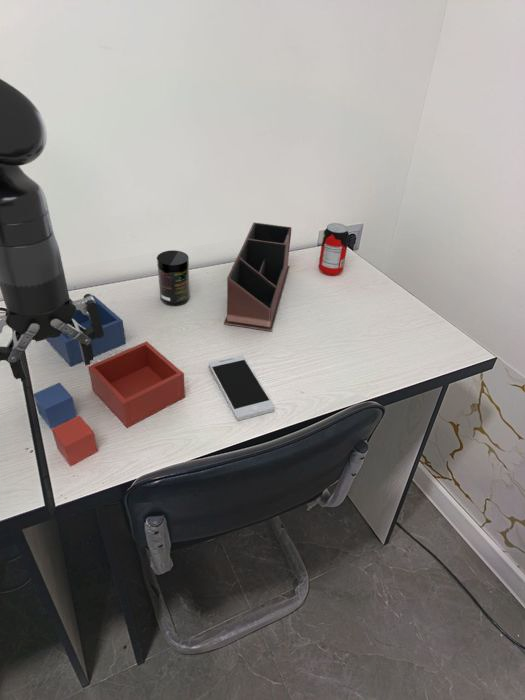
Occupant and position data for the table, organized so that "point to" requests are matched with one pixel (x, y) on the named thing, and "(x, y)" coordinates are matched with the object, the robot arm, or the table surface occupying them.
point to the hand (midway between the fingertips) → (55, 369)
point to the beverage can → (333, 249)
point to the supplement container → (173, 277)
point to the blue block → (55, 405)
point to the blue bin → (109, 341)
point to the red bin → (137, 383)
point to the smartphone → (241, 387)
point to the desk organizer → (258, 277)
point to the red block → (75, 440)
